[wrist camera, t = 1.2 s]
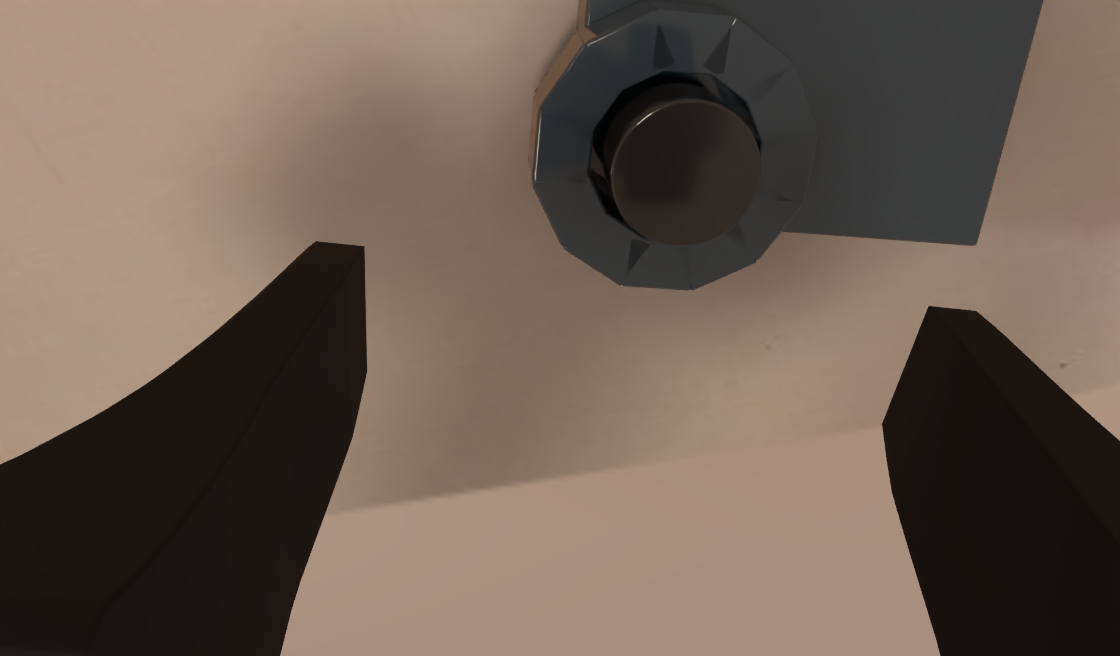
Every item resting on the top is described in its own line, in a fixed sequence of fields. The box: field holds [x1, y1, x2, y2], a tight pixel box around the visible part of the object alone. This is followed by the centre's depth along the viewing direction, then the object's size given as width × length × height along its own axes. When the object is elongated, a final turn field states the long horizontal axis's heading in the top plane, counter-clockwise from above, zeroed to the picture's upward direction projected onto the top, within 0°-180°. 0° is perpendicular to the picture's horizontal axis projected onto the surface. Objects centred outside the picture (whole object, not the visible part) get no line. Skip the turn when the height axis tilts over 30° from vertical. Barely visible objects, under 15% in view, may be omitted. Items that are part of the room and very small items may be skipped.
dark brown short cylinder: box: [602, 83, 761, 246], centre depth 21 cm, size 3×3×2 cm
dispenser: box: [528, 0, 1043, 290], centre depth 22 cm, size 11×11×4 cm
